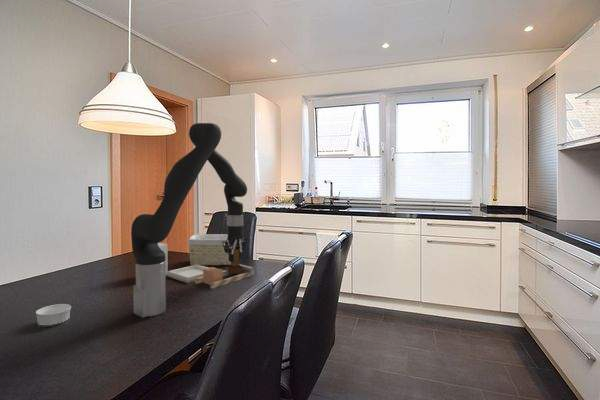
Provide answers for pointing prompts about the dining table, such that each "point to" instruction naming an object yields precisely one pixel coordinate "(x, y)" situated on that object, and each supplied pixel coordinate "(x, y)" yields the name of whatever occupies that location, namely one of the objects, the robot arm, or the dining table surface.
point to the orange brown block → (212, 275)
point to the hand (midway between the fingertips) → (235, 260)
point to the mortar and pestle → (235, 262)
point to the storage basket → (208, 249)
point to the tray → (187, 273)
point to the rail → (245, 273)
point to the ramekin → (53, 314)
